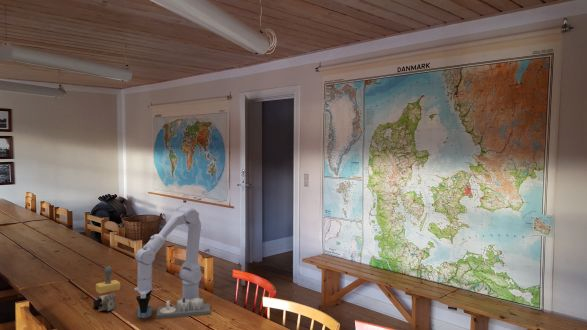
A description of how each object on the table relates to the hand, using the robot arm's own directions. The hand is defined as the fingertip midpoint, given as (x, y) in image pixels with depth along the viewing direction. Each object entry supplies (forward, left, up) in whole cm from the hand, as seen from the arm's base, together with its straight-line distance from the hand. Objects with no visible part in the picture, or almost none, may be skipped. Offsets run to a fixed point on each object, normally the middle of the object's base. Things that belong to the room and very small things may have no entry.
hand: (144, 309), depth 180 cm
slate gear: (0, 0, -3) cm, 3 cm away
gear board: (0, +16, -3) cm, 16 cm away
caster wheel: (-12, -18, -3) cm, 22 cm away
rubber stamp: (-36, -20, -3) cm, 41 cm away
